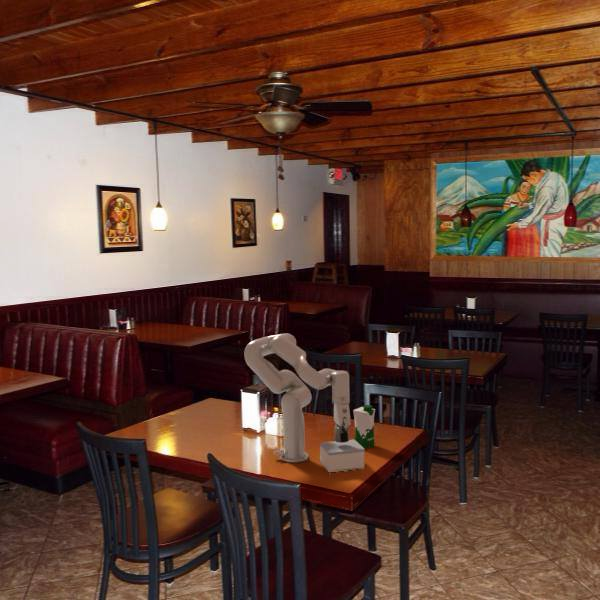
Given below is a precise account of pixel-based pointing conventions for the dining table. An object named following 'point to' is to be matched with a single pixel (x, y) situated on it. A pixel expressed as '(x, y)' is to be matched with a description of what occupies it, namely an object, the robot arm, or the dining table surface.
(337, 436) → the gray cube
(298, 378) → the robot arm
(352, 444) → the lid
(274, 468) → the dining table surface
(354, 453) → the box
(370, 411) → the milk carton
